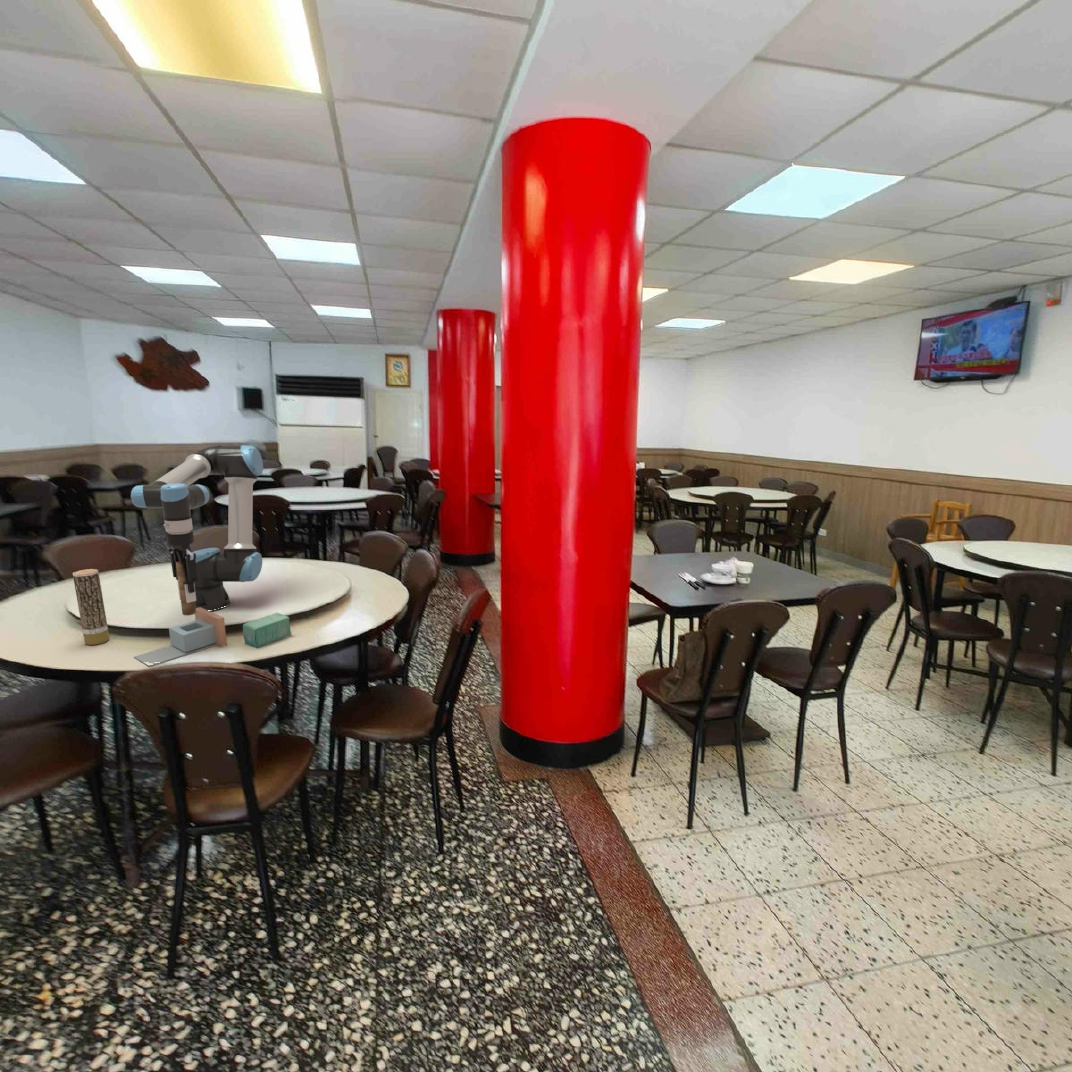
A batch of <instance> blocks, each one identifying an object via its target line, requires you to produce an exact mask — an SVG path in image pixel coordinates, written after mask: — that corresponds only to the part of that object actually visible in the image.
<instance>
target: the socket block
mask: <svg viewBox="0 0 1072 1072" xmlns="http://www.w3.org/2000/svg"><path fill="white" fill-rule="evenodd" d="M168 632H169V633H168V634H169V640H170V645H173V646H174V647H176V648H178V649H180V650H182V651H184V652H188V651H191V650H194V649H198V648H201V647H204V646H207V645H210V644H213V643H216V636H215V627H214V626H213V625H211V624H209V623H207V622H204V621H202V620H200V619H199V620H196V619H195V620H193V621H189V622H186V623H182V624H178V625H175V626H171V627H168Z"/></svg>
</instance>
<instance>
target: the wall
mask: <svg viewBox="0 0 1072 1072" xmlns="http://www.w3.org/2000/svg"><path fill="white" fill-rule="evenodd" d="M194 617H195V620H199V619H200V620H202V621H204V622H207V623H209V624H211V625H213V626H214V627H215V636H216V644H217V645H216V646H219V647H222V648H223V647H224V646H227V645H228V643H227V641H228V640H227V633H226V626H225V625H226V624H225V617H223V616H222V615H219V614H216V613H214V612H213V611H208V610H206V609H203V608H201V607H199V608H196V613H195V614H194Z"/></svg>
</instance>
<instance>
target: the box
mask: <svg viewBox="0 0 1072 1072" xmlns="http://www.w3.org/2000/svg"><path fill="white" fill-rule="evenodd" d="M290 623H291V622H290V617H289V616H287V615H284V614H282V613H279V612H275V613H272V614H269V615H268V614H267V615H266V616H263V617H260V618H257V619H255V620H251V621H249V622H246V623H243V625H242V636H243V640H244V643H245V645H248V646H251V647H254V648H256V649H258V648H261V647H265V646H266V645H269V644H272V643H274V642H278V641H281V640H283V639H284V638H287V637H290V636H291V635H292V632H291V624H290Z"/></svg>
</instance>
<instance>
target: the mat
mask: <svg viewBox="0 0 1072 1072" xmlns="http://www.w3.org/2000/svg"><path fill="white" fill-rule="evenodd" d="M215 646H218V645H217V644H216V643H213V644H210V645H207V646H204V647H201V648H198V649H194V650H191V651H188V652H184V651H182V650H180V649H178V648H176V647H174V646H173V645H171V644H170V645H167V646H165V647H160V648H158V649H155V650H152V651H149V652H145V653H142V654H138V655H135V656H134V657H133V659H135V660H136V661H138V662H140V663H142V662H149V663H153V665H149V666H147V667H148V668H151V667H150V666H152V667H155V666H157V665H160V664H164V663H166V662H170V661H174V660H176V659H178V658H182V657H185V656H188V655H191V654H194V653H197V652H201V651H202V650H203V651H204V650H207V649H210V648H212V647H215ZM154 662H160V663H154ZM154 665H155V666H154Z"/></svg>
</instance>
